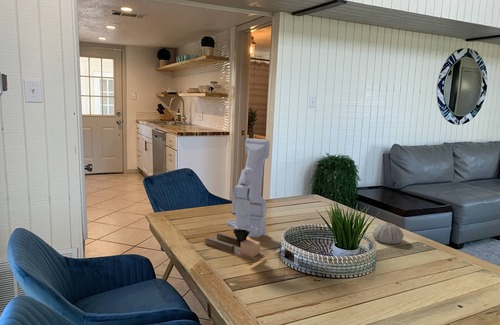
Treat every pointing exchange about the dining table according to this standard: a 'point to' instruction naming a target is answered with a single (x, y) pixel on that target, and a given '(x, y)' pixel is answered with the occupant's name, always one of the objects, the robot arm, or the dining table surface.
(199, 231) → the dining table surface
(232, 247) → the taupe railed channel
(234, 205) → the ink cartridge box
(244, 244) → the terracotta block
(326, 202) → the dining table surface
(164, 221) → the dining table surface
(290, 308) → the dining table surface
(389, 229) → the sea urchin shell
